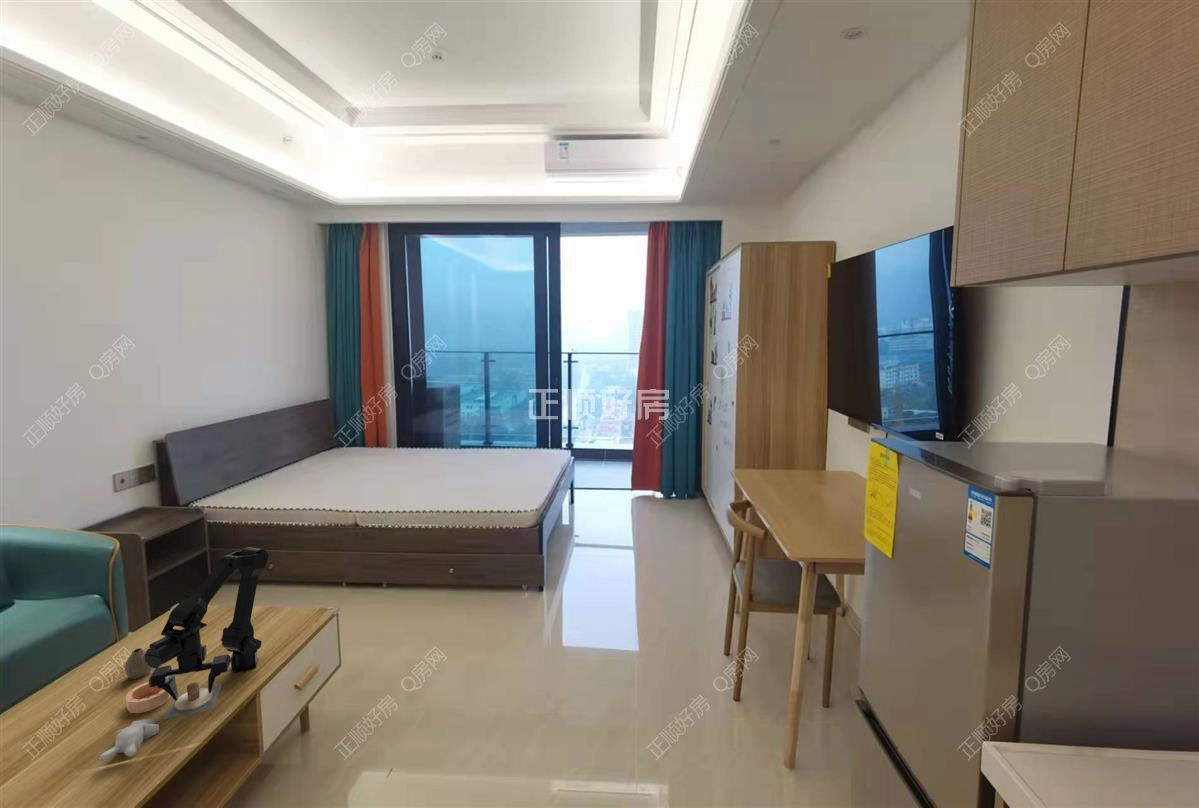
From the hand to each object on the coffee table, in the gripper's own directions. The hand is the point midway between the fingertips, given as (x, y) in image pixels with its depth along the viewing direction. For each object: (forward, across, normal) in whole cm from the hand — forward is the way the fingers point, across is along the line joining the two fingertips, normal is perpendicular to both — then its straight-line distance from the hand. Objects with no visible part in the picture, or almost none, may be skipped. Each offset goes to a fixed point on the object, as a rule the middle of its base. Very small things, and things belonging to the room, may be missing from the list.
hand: (193, 696), depth 163 cm
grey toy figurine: (+2, +10, +14) cm, 18 cm away
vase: (+2, +19, -22) cm, 29 cm away
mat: (+2, 0, 0) cm, 2 cm away
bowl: (+2, +12, -5) cm, 13 cm away
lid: (+2, 0, 0) cm, 2 cm away
